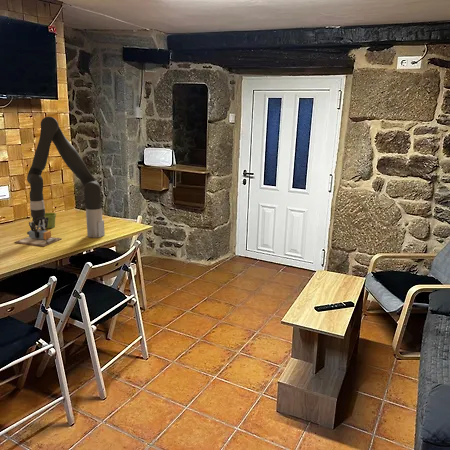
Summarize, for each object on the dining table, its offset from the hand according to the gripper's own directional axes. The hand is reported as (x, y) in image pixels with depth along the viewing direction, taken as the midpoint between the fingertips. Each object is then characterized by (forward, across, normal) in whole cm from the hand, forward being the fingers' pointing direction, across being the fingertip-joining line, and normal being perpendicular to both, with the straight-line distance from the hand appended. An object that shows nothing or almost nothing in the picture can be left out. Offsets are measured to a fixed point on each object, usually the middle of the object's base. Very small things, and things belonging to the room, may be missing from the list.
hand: (40, 236), depth 245 cm
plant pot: (+2, +25, +14) cm, 29 cm away
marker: (+1, 0, +1) cm, 1 cm away
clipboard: (+2, -2, 0) cm, 3 cm away
